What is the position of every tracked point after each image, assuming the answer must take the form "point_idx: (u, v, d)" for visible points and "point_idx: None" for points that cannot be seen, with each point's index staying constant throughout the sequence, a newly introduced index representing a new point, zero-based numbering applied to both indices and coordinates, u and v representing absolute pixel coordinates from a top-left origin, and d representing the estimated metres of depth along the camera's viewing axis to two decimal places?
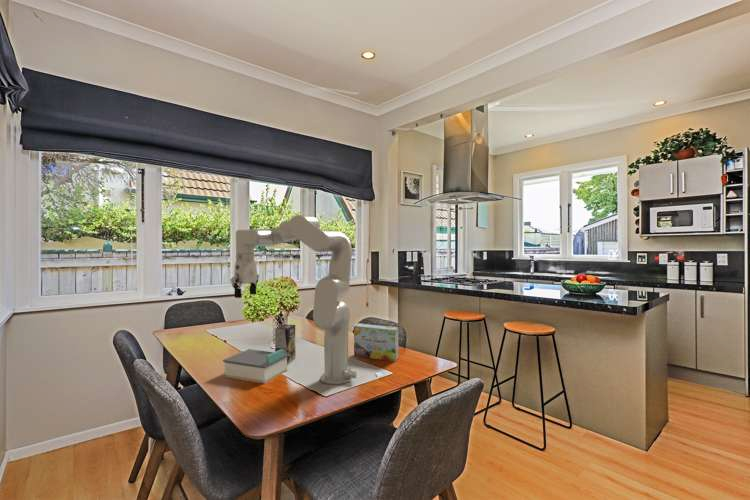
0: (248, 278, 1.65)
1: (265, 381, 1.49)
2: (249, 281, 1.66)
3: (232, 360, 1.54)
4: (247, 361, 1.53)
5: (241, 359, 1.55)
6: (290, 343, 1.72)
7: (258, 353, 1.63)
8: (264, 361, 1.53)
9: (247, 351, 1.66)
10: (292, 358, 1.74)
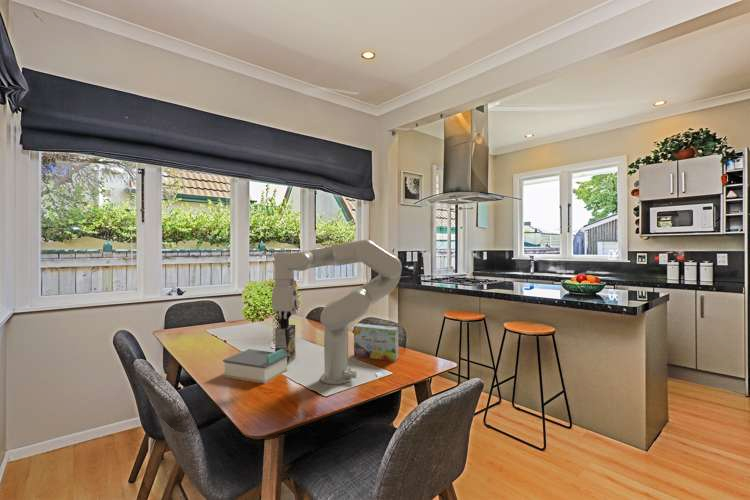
0: None
1: (265, 381, 1.49)
2: None
3: (232, 360, 1.54)
4: (247, 361, 1.53)
5: (241, 359, 1.55)
6: (290, 343, 1.72)
7: (258, 353, 1.63)
8: (264, 361, 1.53)
9: (247, 351, 1.66)
10: (292, 358, 1.74)
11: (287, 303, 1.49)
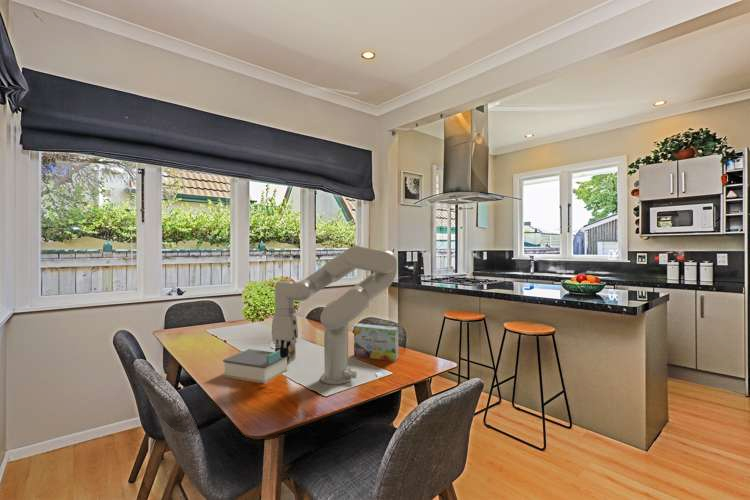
0: None
1: (265, 381, 1.49)
2: None
3: (232, 360, 1.54)
4: (247, 361, 1.53)
5: (241, 359, 1.55)
6: None
7: (258, 353, 1.63)
8: (264, 361, 1.53)
9: (247, 351, 1.66)
10: (292, 358, 1.74)
11: (287, 332, 1.49)
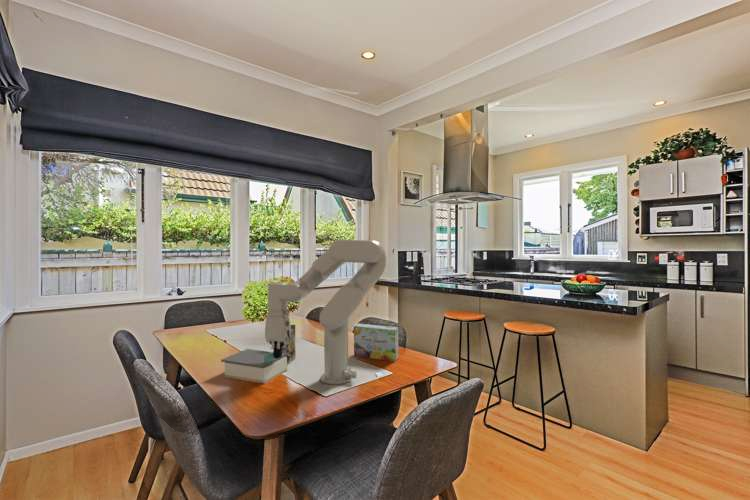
0: None
1: (265, 381, 1.49)
2: None
3: (230, 360, 1.55)
4: (245, 361, 1.53)
5: (239, 359, 1.56)
6: (290, 343, 1.72)
7: (256, 353, 1.64)
8: (262, 361, 1.53)
9: (245, 351, 1.67)
10: (292, 358, 1.74)
11: (280, 333, 1.51)
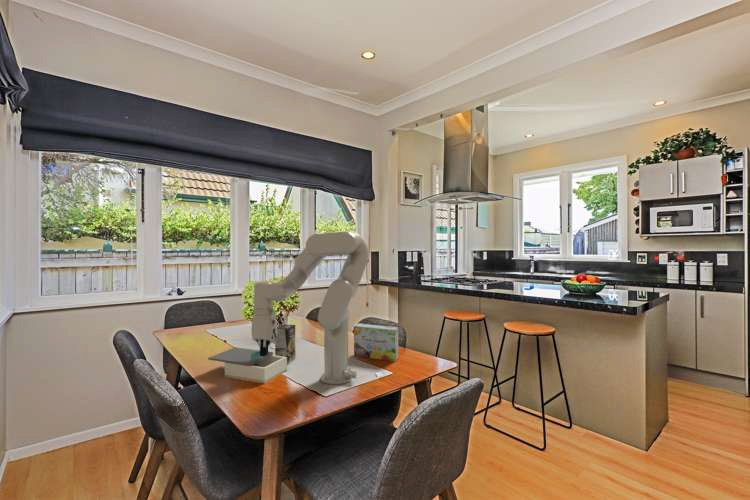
0: None
1: (265, 381, 1.49)
2: None
3: (217, 358, 1.57)
4: (232, 359, 1.56)
5: (226, 357, 1.58)
6: (290, 343, 1.72)
7: (243, 351, 1.66)
8: (248, 359, 1.56)
9: (233, 349, 1.69)
10: (292, 358, 1.74)
11: (266, 332, 1.53)
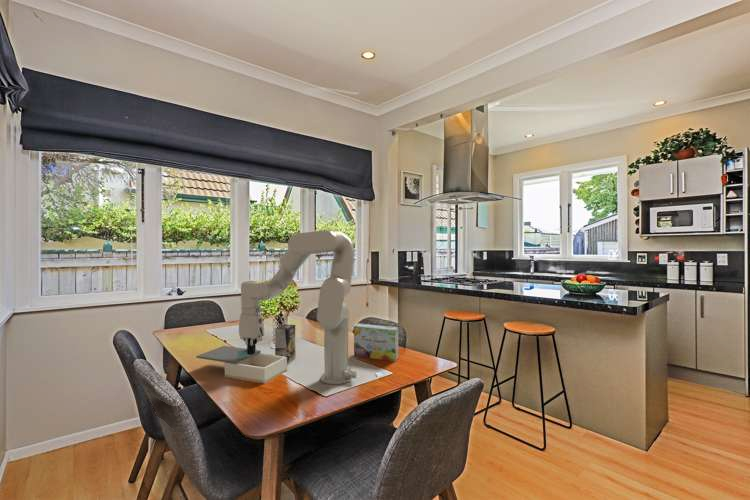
0: None
1: (265, 381, 1.49)
2: None
3: (205, 356, 1.60)
4: (219, 357, 1.58)
5: (214, 355, 1.61)
6: (290, 343, 1.72)
7: (232, 349, 1.69)
8: (236, 357, 1.58)
9: (221, 347, 1.72)
10: (292, 358, 1.74)
11: (253, 331, 1.56)
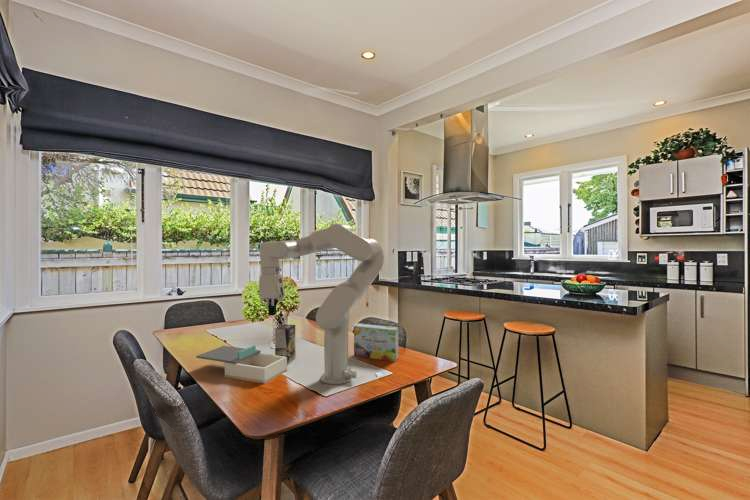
0: None
1: (265, 381, 1.49)
2: None
3: (205, 356, 1.60)
4: (219, 357, 1.58)
5: (214, 355, 1.61)
6: (290, 343, 1.72)
7: (231, 349, 1.69)
8: (236, 357, 1.58)
9: (221, 347, 1.72)
10: (292, 358, 1.74)
11: (274, 290, 1.55)
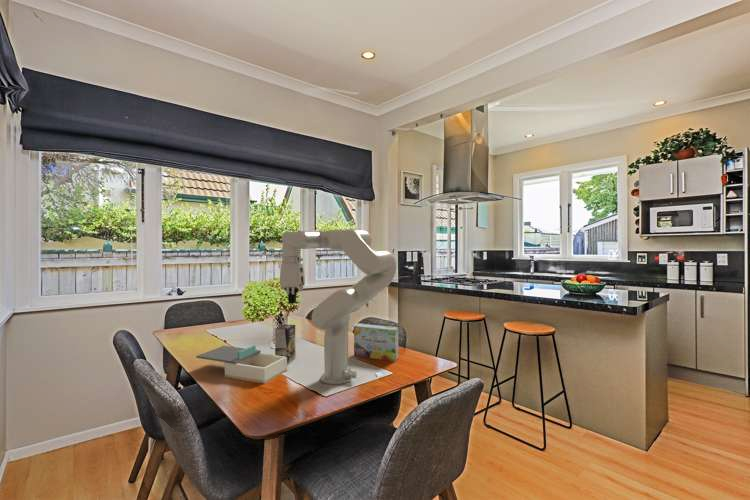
0: None
1: (265, 381, 1.49)
2: None
3: (205, 356, 1.60)
4: (219, 357, 1.58)
5: (214, 355, 1.61)
6: (290, 343, 1.72)
7: (231, 349, 1.69)
8: (236, 357, 1.58)
9: (221, 347, 1.72)
10: (292, 358, 1.74)
11: (294, 279, 1.58)
